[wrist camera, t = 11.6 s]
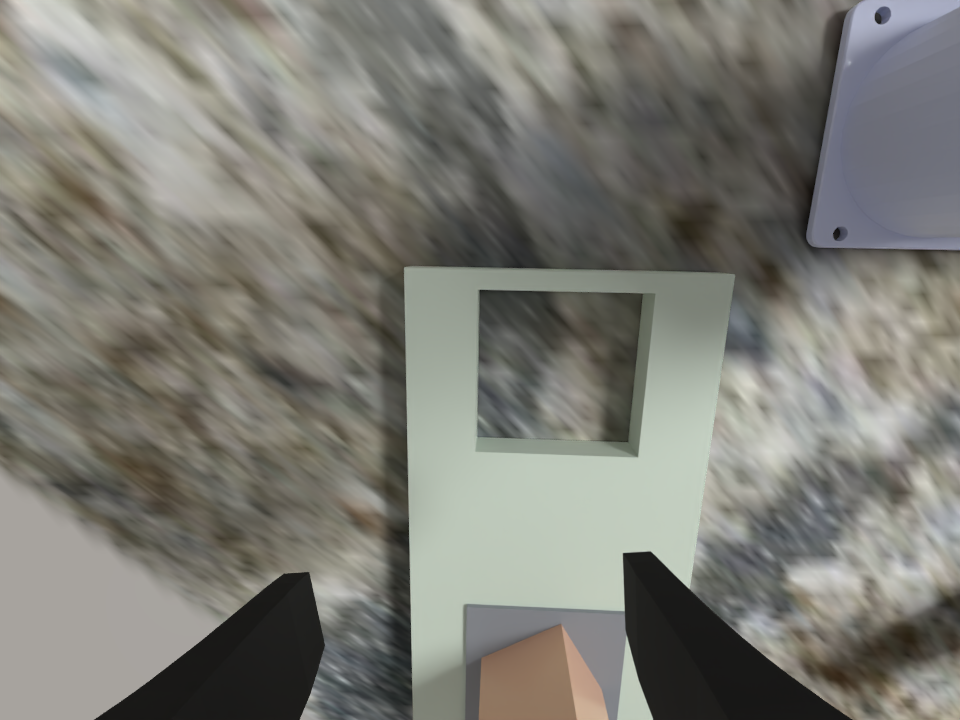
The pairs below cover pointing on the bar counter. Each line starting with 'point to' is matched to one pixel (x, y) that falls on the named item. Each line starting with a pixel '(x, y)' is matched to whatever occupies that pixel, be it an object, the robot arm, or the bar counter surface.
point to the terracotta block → (539, 681)
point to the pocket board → (549, 484)
